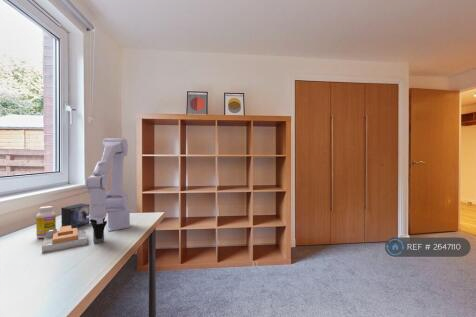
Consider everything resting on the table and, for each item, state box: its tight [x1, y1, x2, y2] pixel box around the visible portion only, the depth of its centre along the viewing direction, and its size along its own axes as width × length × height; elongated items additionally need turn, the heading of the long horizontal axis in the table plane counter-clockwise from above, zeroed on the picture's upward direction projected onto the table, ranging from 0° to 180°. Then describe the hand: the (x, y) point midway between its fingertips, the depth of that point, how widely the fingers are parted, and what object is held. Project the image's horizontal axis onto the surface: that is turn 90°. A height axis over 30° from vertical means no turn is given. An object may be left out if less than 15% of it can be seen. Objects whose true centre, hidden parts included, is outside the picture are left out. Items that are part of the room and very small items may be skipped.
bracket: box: [52, 225, 78, 244], centre depth 99 cm, size 8×18×2 cm, turn 36°
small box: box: [60, 203, 90, 229], centre depth 119 cm, size 11×6×10 cm, turn 161°
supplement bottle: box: [35, 205, 57, 239], centre depth 104 cm, size 7×7×13 cm
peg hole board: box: [41, 228, 88, 254], centre depth 96 cm, size 14×14×5 cm
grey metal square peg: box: [92, 228, 105, 245], centre depth 97 cm, size 4×4×8 cm
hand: (98, 237), depth 97 cm, fingers open, 4 cm apart
